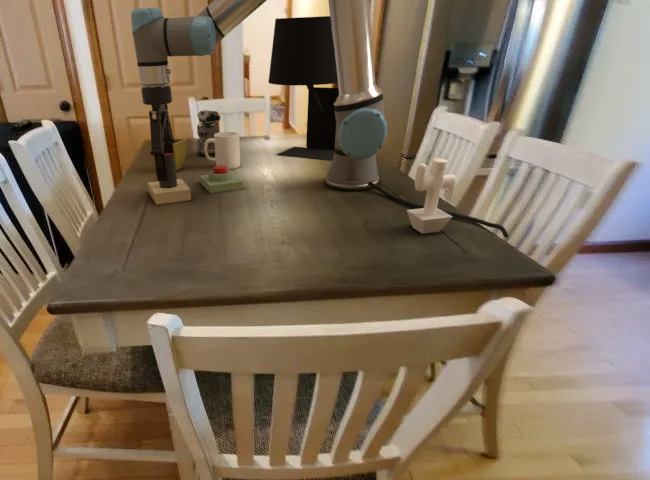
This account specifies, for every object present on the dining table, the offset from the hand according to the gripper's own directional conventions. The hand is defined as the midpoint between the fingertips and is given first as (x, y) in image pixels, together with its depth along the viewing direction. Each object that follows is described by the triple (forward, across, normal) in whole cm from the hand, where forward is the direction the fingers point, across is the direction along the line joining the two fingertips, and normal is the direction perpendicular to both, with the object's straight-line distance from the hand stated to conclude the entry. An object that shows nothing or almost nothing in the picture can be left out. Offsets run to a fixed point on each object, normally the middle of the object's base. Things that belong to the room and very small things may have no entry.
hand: (167, 174), depth 130 cm
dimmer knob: (+3, 0, 0) cm, 3 cm away
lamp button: (+2, +9, -14) cm, 17 cm away
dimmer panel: (+6, 0, 0) cm, 6 cm away
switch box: (+6, +9, -14) cm, 18 cm away
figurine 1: (+6, +51, -8) cm, 52 cm away
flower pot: (+6, +31, +4) cm, 32 cm away
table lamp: (+6, +44, -43) cm, 62 cm away
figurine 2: (+6, -31, -64) cm, 72 cm away
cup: (+6, +33, -13) cm, 36 cm away
